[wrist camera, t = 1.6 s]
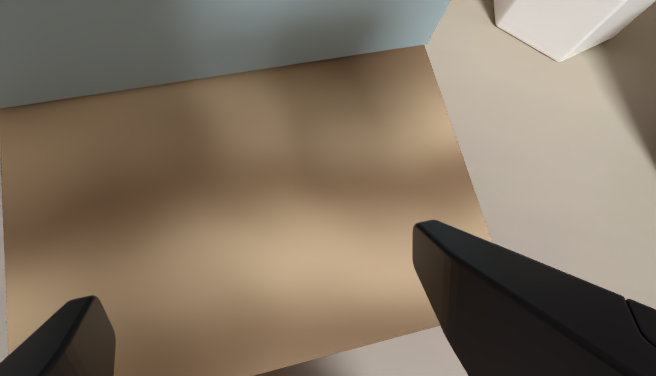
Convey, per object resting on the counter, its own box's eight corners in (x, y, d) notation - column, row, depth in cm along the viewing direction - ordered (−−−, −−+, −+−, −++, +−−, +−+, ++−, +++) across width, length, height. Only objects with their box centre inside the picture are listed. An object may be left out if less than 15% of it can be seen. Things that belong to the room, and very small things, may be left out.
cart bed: (462, 308, 22) (514, 305, 17) (80, 409, 19) (11, 440, 14) (391, 82, 25) (417, 26, 20) (59, 136, 22) (-3, 86, 17)
